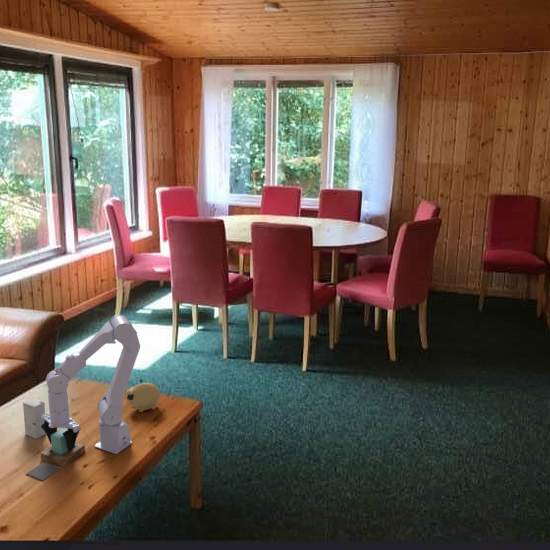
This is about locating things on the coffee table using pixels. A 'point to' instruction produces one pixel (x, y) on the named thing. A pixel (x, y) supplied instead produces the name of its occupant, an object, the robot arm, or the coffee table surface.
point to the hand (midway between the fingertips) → (62, 445)
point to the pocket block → (64, 459)
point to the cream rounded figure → (143, 396)
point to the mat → (43, 471)
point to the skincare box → (34, 417)
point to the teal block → (59, 442)
